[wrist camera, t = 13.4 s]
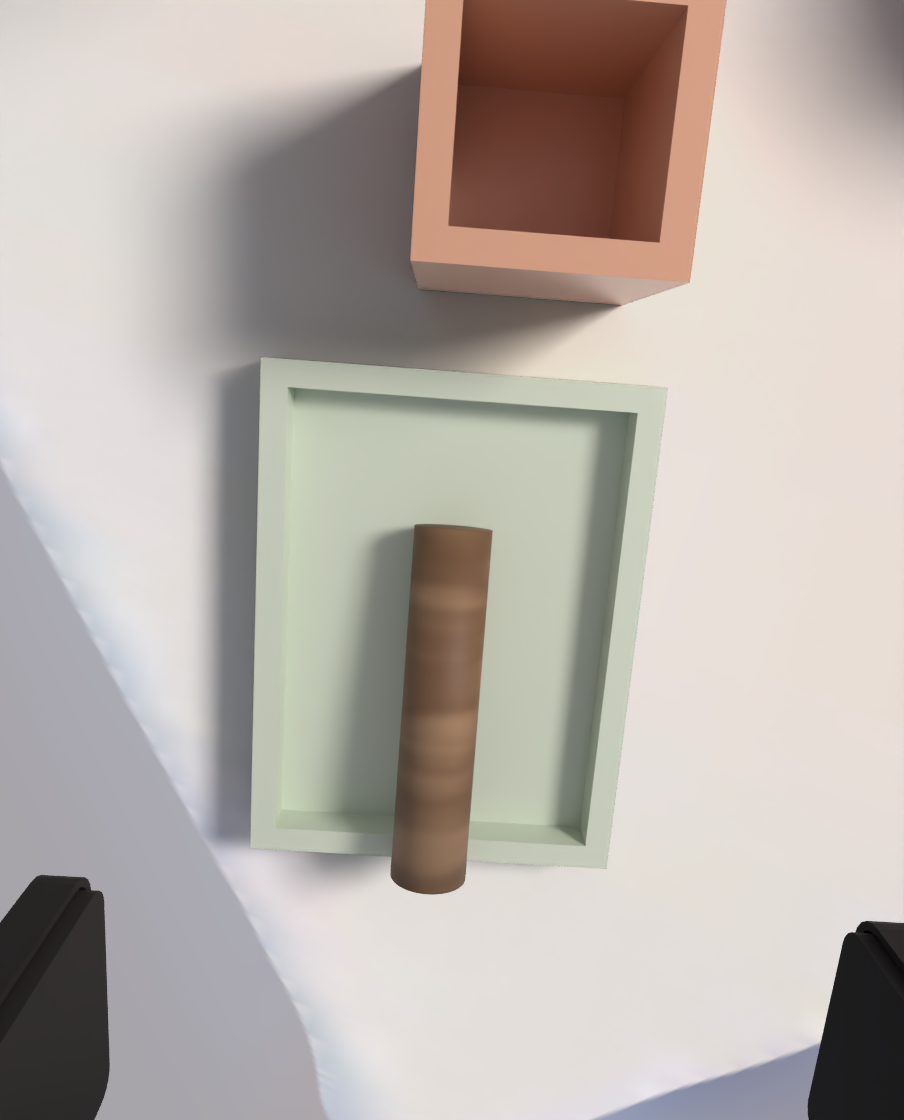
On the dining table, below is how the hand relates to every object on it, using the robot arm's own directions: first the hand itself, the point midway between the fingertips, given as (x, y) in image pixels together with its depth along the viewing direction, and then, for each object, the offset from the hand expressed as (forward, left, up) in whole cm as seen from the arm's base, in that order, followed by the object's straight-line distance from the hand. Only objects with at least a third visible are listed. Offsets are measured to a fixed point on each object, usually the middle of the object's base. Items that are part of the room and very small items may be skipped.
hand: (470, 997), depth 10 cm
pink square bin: (-14, +2, -25) cm, 29 cm away
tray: (+3, 0, -25) cm, 25 cm away
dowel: (-1, 0, -25) cm, 25 cm away
